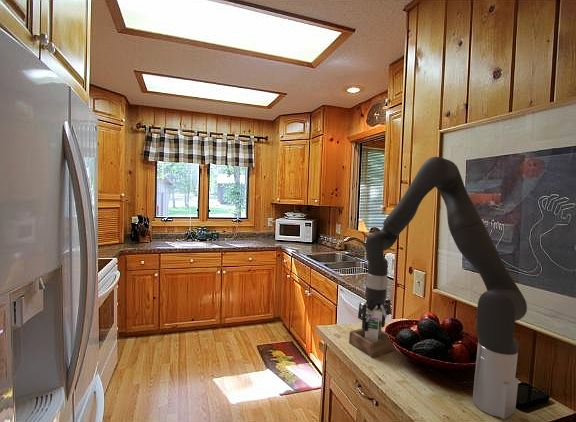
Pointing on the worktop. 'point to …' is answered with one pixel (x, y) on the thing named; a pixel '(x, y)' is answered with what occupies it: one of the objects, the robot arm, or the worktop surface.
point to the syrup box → (374, 326)
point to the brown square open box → (368, 347)
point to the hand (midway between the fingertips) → (373, 328)
